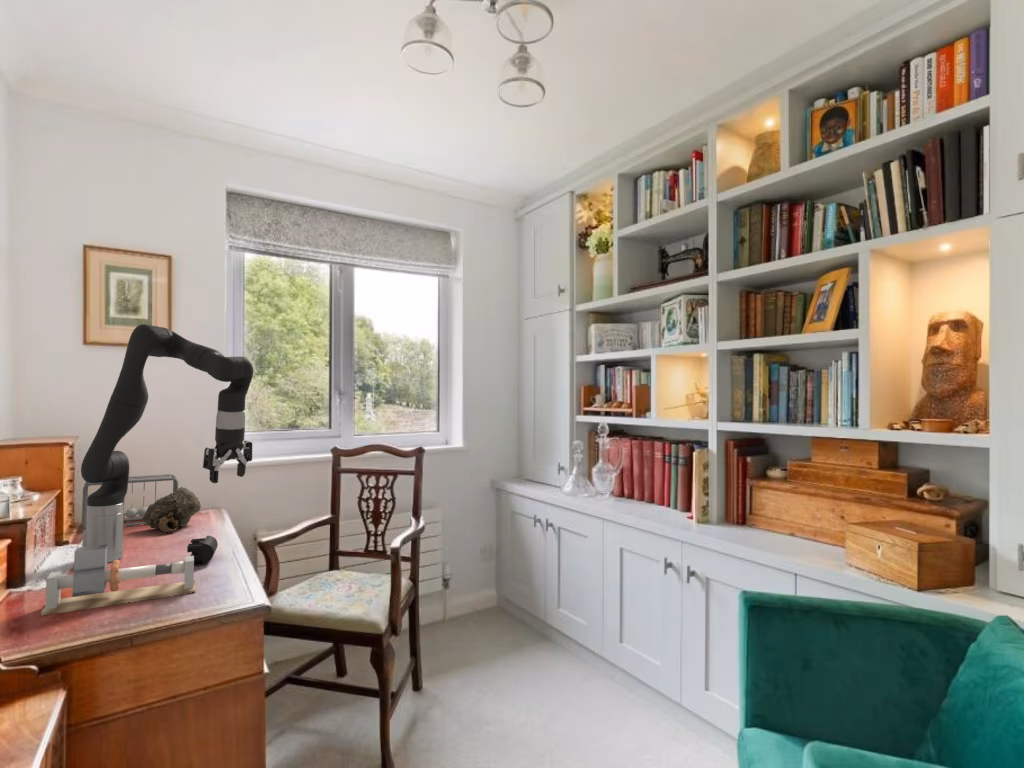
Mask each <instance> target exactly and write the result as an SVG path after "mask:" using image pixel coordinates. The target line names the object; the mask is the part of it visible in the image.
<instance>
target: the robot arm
mask: <svg viewBox="0 0 1024 768" xmlns="http://www.w3.org/2000/svg"><path fill="white" fill-rule="evenodd" d="M149 357H154V358H155V357H156V358H174V359H179V360H182V361H184V362H185V364H186V365H188V366H189V367H192V368H194V369H196V370H199V371H201V372H205V373H207V374H208V375H209V376H210V377H212V378H213V379H215V380H216V381H220V382H224V383H229V382H230V383H229V385H228V386H227V387H226V388H224V389H221V390H220V391H219V392H218V396H217V397H218V398H217V412H216V418H215V435H214V440H215V447H205V448H204V452H203V461H202V468H203V469H205V470H209V477H208V478H209V481H210V483H212V484H217V483H219V471H220V470H219V469H220V467H221V466H222V465H223V464H224V463H225V462H229V461H230V460H236V461H237V467H236V475H237V476H238V477H241V478H242V477H244V476H245V474H246V468H247V467H246V466H247V464H248V463H249V462H252V461H253V442H252V441H248V440H245V430H246V397H247V394H248V391H249V388H250V386H251V382H252V379H253V376H254V365H253V363H252V361H251V359H249V358H248V357H246V356H225V355H224V354H223V353H222V351H219V350H217V349H215V348H211V347H208V346H205V345H202V344H199V343H196V342H193V341H190V340H189V339H188V338H187V339H186V338H184V337H183V336H181V335H179V334H178V333H176V332H175V331H173V330H171V329H170V328H166V327H164V326H157V325H153V324H152V325H151V324H139V325H137V326H136V327H135V328H134V329H133V331H132V332H131V335H130V337H129V339H128V343H127V347H126V350H125V355H124V358H123V362H122V367H121V369H120V373H119V376H118V378H117V381H116V384H115V387H114V388H113V391H112V393H111V395H110V398H109V401H108V403H107V406H106V409H105V412H104V414H103V417H102V420H101V422H100V425H99V427H98V430H97V431H96V434H95V437H94V438H93V440H92V442H91V444H90V446H89V448H88V450H87V452H85V455H84V457H83V459H82V462H81V466H80V474H81V478H82V480H84V481H85V483H86V482H88V483H101V482H102V485H100V487H99V488H97V489H96V490H95V491H93V492H92V493H90V494H88V498H87V525H86V530H84V529H83V530H82V543H81V545H82V546H81V547H89V546H98V545H107V563H113V561H114V560H119V561H120V559H123V557H124V556H123V555H124V554H123V553H124V528H125V527H124V524H125V522H124V519H125V516H124V511H125V498H126V495H127V494H128V487H129V483H128V479H129V477H130V461H129V457H128V455H126V453H125V452H123V451H121V450H115V449H116V447H117V445H118V444H119V442H120V441H121V440H122V439H123V437H125V436H126V435H127V434H128V433H129V432H130V431H131V430H132V429H133V428H134V427H135V426H136V425H137V423H139V421H140V420H141V418H142V417H143V415H144V412H145V409H146V407H147V404H148V401H149V392H148V387H147V385H146V382H145V381H146V380H145V378H144V369H145V366H146V362H147V360H148V358H149ZM242 450H243V452H242Z"/></svg>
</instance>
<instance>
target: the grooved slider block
mask: <svg viewBox="0 0 1024 768" xmlns="http://www.w3.org/2000/svg"><path fill="white" fill-rule="evenodd" d="M73 557H74V559H73V560H74V561H73V571H72V575H73V587H72V595H71V596H72V597H78V596H85V595H93V594H100V593H105V590H106V588H107V585H108V584H107V583H104V578H105V571H106V570H108V562H107V545H98V546H89V547H82V546H81V547H80V546H79V547H76V548H75V550H74V555H73Z"/></svg>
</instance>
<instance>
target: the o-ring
mask: <svg viewBox="0 0 1024 768" xmlns="http://www.w3.org/2000/svg"><path fill="white" fill-rule="evenodd" d="M119 569H122V568H121V561H120V559H119V560H114V561H112V562H111V566H110V570H111V573H110V583H109V588H110V592H114V591H119V588H120V587H119V586H120V582H121V581H118V571H119Z"/></svg>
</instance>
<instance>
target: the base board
mask: <svg viewBox="0 0 1024 768" xmlns="http://www.w3.org/2000/svg"><path fill="white" fill-rule="evenodd" d="M192 592H195V593H196V580H194V579H193V588H191V589H184V581H181V582H174V583H167V584H166V583H165V584H160V585H159V584H158V585H153V586H152V585H151V586H146V587H145V586H144V587H137V588H131V589H122V590H117V591H114V592H113V591H108V592H104V593H98V594H91V595H84V596H77V597H64V598H60V602H59V604H58V606H57V608H52V609H46V610H45V606H44V607H43V608H42V610H41V612H40V616H47V615H54V614H55V613H56V614H61V613H68V612H69V613H70V612H74V611H75V610H76V611H83V610H88V609H95V608H101V607H108V606H116V605H122V604H121V603H123V604H128V602H130V603H135V601H136V602H142V601H141V600H143V601H148V599H150V600H155V599H154V598H157V599H161V598H160V597H163V598H166V597H165V596H170V597H172V596H171V595H177V594H183V595H186V594H185V593H190V594H193V593H192ZM177 596H178V595H177ZM115 604H116V605H115ZM82 609H83V610H82Z"/></svg>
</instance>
